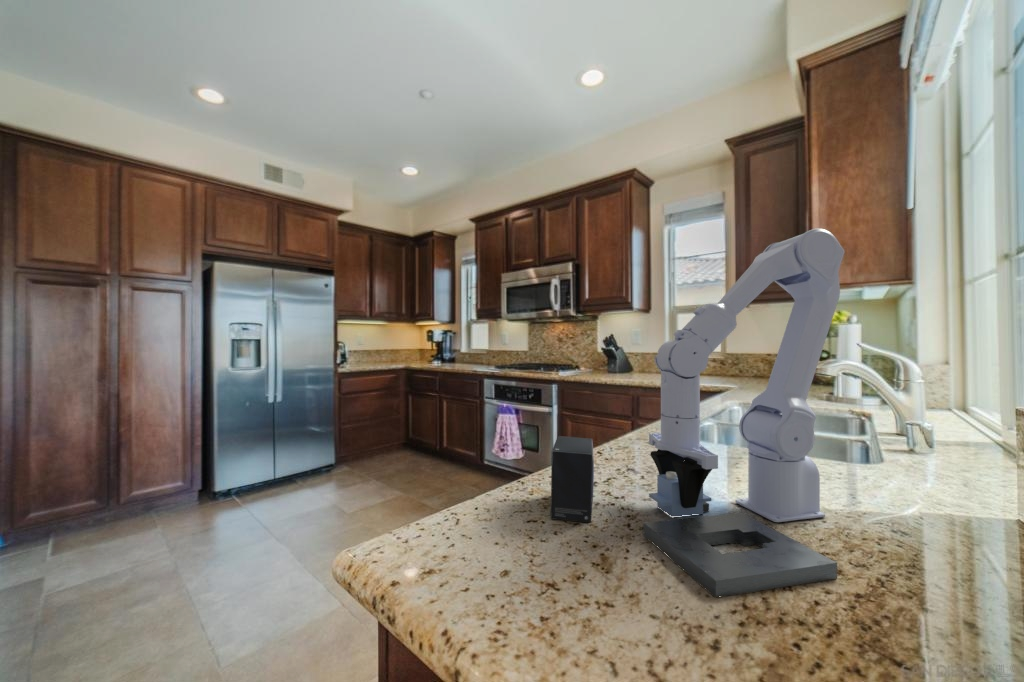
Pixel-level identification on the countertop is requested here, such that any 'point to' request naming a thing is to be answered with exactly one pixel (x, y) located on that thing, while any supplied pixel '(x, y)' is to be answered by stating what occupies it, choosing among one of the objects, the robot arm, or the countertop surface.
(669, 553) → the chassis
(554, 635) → the countertop surface
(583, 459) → the small box
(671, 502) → the servo
